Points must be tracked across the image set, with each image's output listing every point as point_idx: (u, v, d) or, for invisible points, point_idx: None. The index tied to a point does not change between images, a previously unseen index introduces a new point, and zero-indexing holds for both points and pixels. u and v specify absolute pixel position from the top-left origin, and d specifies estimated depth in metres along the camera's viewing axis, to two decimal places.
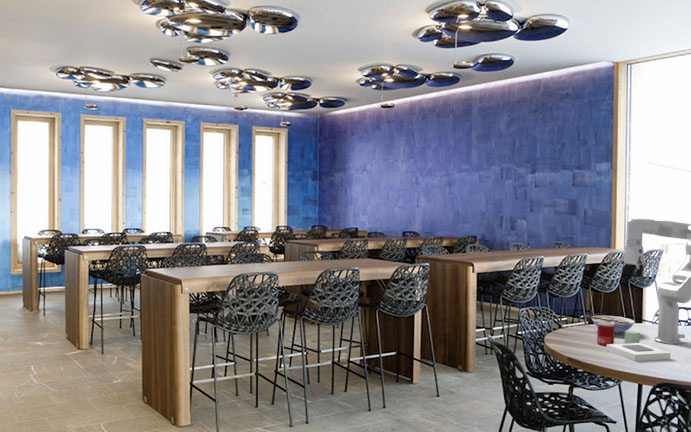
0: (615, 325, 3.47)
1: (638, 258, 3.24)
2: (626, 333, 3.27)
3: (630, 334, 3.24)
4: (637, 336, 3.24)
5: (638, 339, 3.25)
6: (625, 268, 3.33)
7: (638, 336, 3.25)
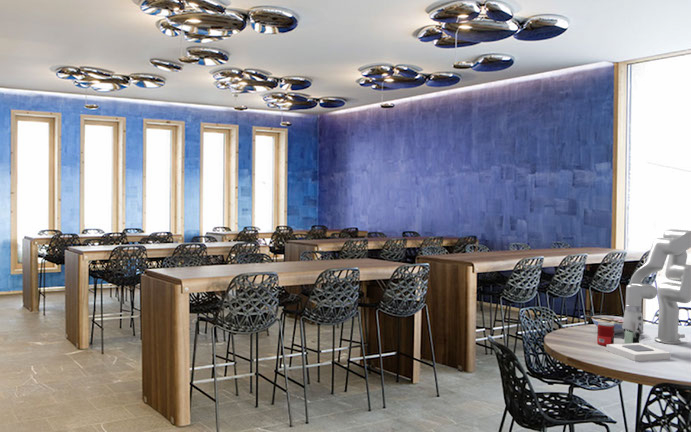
0: (615, 325, 3.47)
1: (637, 325, 3.21)
2: (626, 333, 3.27)
3: (630, 334, 3.24)
4: None
5: None
6: None
7: None
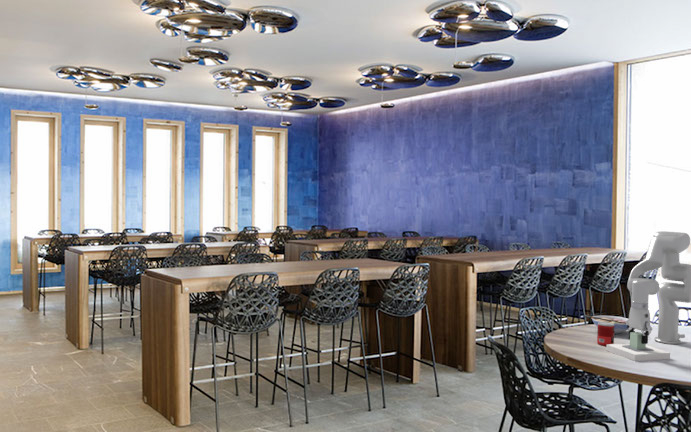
0: (615, 325, 3.47)
1: (644, 323, 3.02)
2: (631, 334, 3.08)
3: (636, 335, 3.05)
4: None
5: None
6: None
7: None
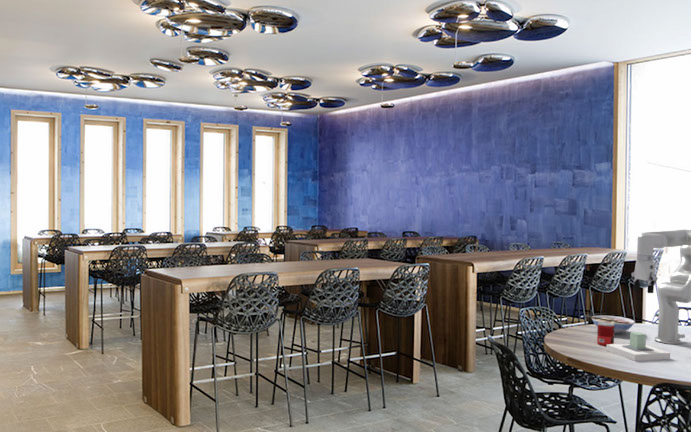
0: (615, 325, 3.47)
1: (649, 274, 3.19)
2: (631, 334, 3.08)
3: (636, 335, 3.05)
4: (643, 337, 3.05)
5: (644, 341, 3.05)
6: (636, 284, 3.29)
7: (644, 338, 3.05)
